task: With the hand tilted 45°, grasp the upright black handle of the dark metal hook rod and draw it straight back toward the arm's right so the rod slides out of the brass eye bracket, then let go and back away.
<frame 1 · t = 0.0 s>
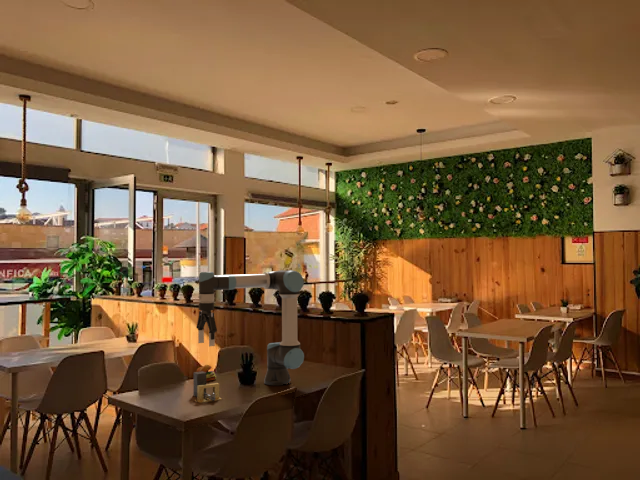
hand: (206, 344, 273), 28 cm above the table, fingers open, 13 cm apart
eye bracket: (208, 400, 273), on the table
cheeseburger: (206, 380, 320), on the table
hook: (199, 395, 282), on the table
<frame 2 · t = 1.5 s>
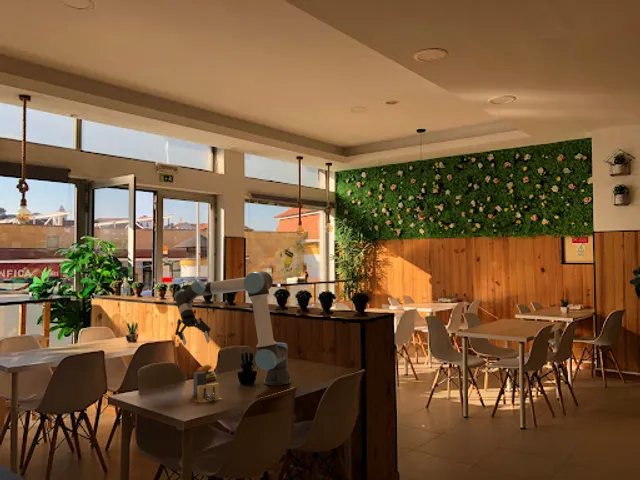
hand: (197, 342, 296), 26 cm above the table, fingers open, 13 cm apart
nothing on the table moved.
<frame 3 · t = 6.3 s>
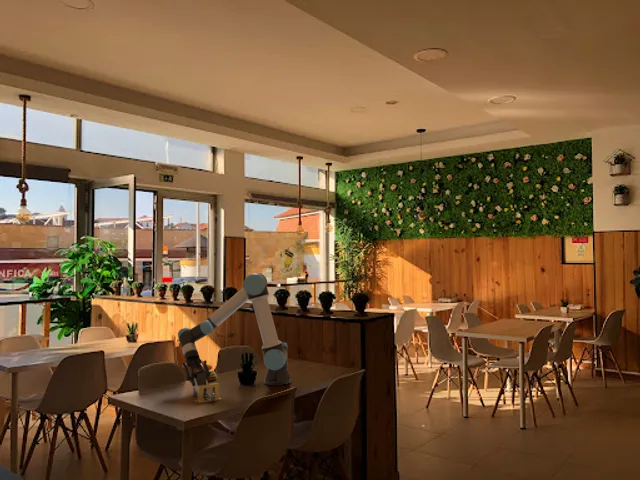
hand: (202, 389, 279), 4 cm above the table, fingers closed on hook, 5 cm apart
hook: (199, 395, 282), on the table, touching gripper
everything else where it was.
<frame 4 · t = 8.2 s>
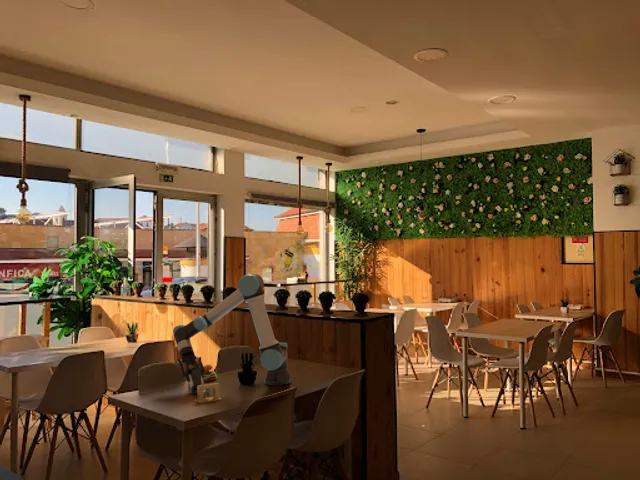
hand: (197, 385, 284), 5 cm above the table, fingers closed on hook, 5 cm apart
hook: (194, 391, 287), point 1 cm above the table, touching gripper
everything else where it was.
when the fingers open (4 cm above the table, at t = 10.0 s): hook stays where it is, on the table.
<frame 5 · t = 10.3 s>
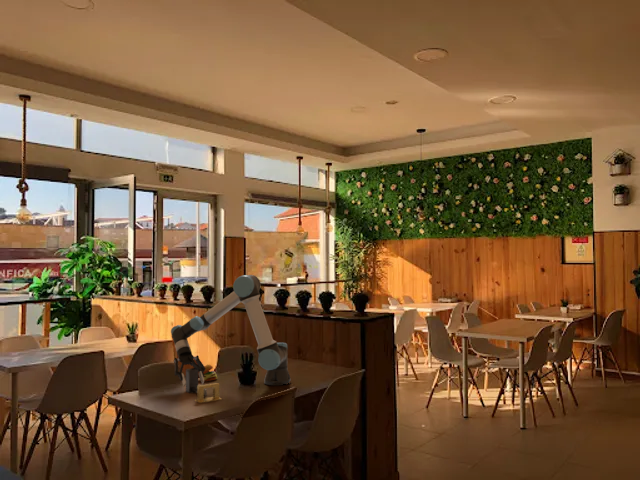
hand: (194, 383, 288), 5 cm above the table, fingers open, 9 cm apart
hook: (192, 391, 291), on the table
everything else where it was.
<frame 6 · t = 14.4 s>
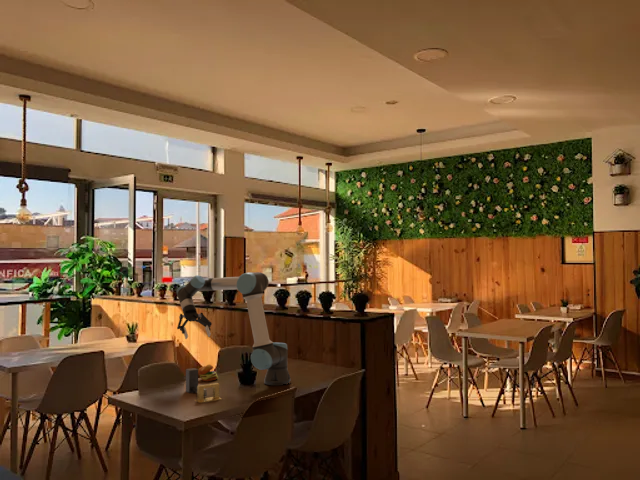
hand: (198, 336, 305), 28 cm above the table, fingers open, 13 cm apart
nothing on the table moved.
at the end: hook inside the target area on the table beside the eye bracket (7.3 cm from its centre), on the table; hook tilted 0°; the gripper is holding nothing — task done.
